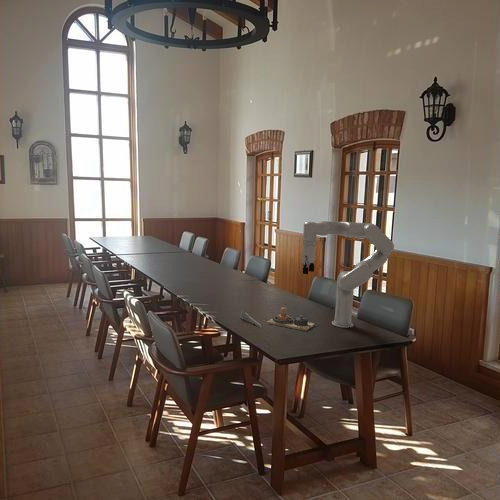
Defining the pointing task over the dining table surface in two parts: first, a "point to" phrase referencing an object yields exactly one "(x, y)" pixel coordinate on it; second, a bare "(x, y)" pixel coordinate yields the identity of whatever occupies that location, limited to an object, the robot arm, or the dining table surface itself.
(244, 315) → the caliper
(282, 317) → the planet gear
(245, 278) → the dining table surface
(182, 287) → the dining table surface
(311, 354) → the dining table surface
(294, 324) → the carrier
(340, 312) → the robot arm
